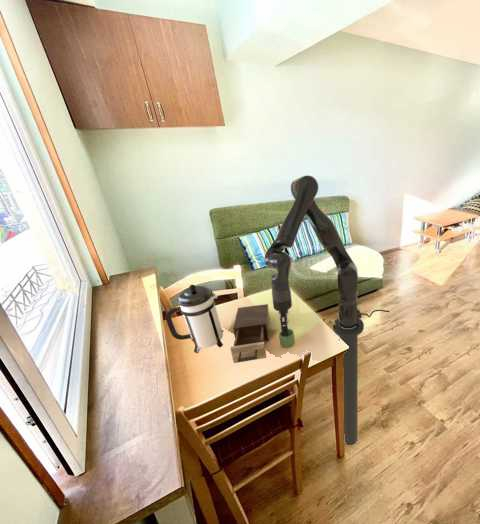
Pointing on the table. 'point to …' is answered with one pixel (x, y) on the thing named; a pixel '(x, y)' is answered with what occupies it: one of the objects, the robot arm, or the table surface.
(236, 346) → the drawer
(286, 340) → the pot
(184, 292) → the coffee press
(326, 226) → the robot arm
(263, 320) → the cabinet
